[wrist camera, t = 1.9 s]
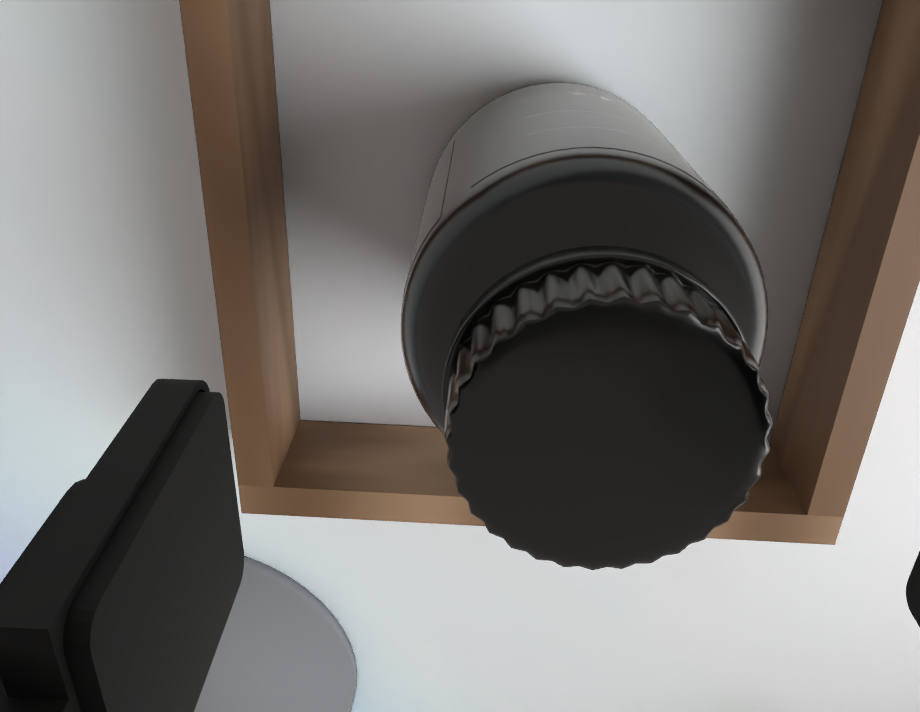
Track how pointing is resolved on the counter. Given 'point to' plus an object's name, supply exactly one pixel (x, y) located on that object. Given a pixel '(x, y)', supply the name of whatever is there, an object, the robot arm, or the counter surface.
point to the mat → (279, 651)
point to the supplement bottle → (586, 331)
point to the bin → (424, 448)
